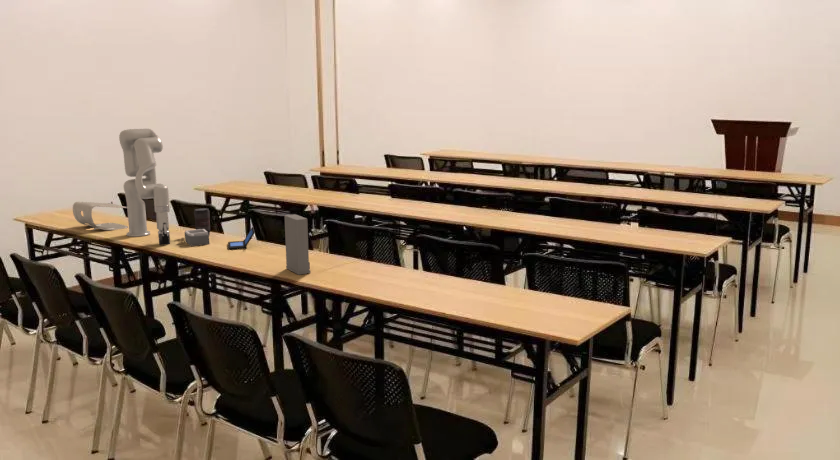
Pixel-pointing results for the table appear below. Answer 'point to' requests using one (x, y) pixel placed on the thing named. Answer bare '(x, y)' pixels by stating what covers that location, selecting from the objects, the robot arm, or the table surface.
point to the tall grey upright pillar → (297, 244)
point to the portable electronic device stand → (87, 215)
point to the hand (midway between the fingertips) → (164, 242)
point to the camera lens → (202, 219)
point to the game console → (241, 242)
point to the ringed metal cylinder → (161, 237)
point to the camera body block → (196, 237)
